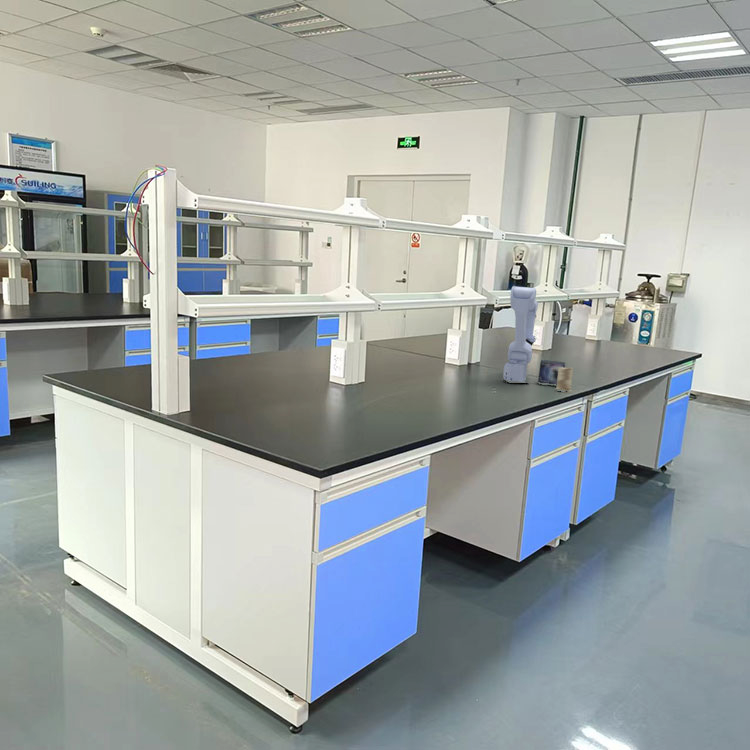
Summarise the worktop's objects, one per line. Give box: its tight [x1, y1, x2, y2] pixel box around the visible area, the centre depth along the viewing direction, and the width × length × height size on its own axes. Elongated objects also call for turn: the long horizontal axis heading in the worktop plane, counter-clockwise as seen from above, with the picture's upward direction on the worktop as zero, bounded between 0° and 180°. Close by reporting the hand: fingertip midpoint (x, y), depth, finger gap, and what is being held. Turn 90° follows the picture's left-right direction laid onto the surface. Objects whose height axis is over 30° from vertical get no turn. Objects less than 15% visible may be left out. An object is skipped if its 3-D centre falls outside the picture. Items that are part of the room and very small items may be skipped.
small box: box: [537, 359, 566, 385], centre depth 287 cm, size 11×6×10 cm, turn 73°
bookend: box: [555, 367, 574, 392], centre depth 274 cm, size 6×3×10 cm, turn 103°
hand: (524, 355), depth 300 cm, fingers closed
